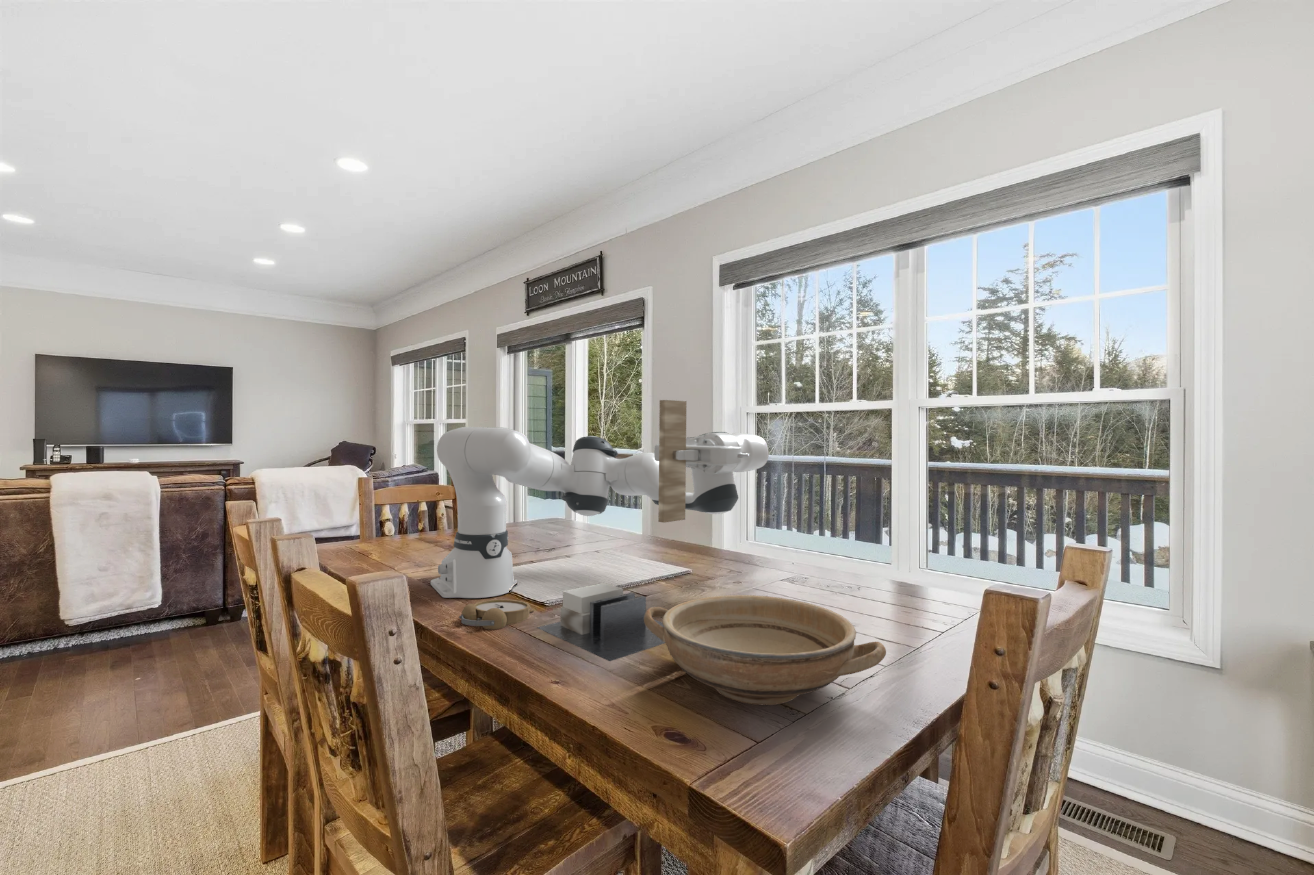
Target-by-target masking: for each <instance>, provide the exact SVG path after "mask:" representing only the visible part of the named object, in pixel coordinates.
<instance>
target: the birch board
mask: <svg viewBox="0 0 1314 875" xmlns="http://www.w3.org/2000/svg"><path fill="white" fill-rule="evenodd" d="M658 414H659V416H658V417H659V420H658V421H659V423H658V424H659V425H658V426H659V427H658V428H659V429H658V431H659V433H658V436H659V438H658V439H659V440H658V444H659V505H658V523H663V524H664V523H665V524H666V523H672V522H679V521H685V520H686V509H685V496H686V492H687V491H686V487H687V486H686V484H687V480H686V478H687V477H686V476H687V475H686V474H687V473H686V472H687V467H686V460H674V459H673V451H683V450H686V438H687V400H673V399H672V400H670V399H669V400H668V399H659V413H658Z"/></svg>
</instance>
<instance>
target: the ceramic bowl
mask: <svg viewBox="0 0 1314 875" xmlns="http://www.w3.org/2000/svg"><path fill="white" fill-rule="evenodd" d="M654 618H658V619H659V618H660V619H662V622H663V625H664V627H665V628H664V627H662V626H661V625H659V624H658V623H657V622H656V621H654V620H655V619H654ZM653 619H654V620H653ZM644 623H645V625H646V626H647V628H648V629H649V630H650V631H651V632H652V633H653V634H654V635H656V636H657V637H658V638H660V639H661V640H662V641H663V642H665V643H664V644H665V645H666V648H667V649H668V652H669V654H670V656H671V658H672V660H673V661H674V662H675V663H676V664H677V666H679V668H680V669H681V670H682V671H683V672H684V673H686V674H688V675H689V677H692V678H693V679H695V680H696V681H699V682H701V683H703V684H705V685H707V686H708V687H712V688H714V689H715V690H716V692H718V693H719V694H720V695H721V696H723V697H724V698H727V699H730V700H732V701H735V702H737V703H738V702H739V703H742V704H748V705H755V706H774V705H776V706H777V705H782V704H786V703H788V702H791V701H793V700H794V699H796V698H797V697H798V696H801V695H805V694H809V693H812V692H816V691H818V690H820V689H823V688H825V687H827V686H828V685H830V684H832V683H834V681H836V680H838V678H840V677H843V676H846V675H847V676H848V675H853V674H857V673H861V672H863V671H867V670H869V669H871V668H874V667H875V666H878V664H880V663H881V662H882V661H883V660H884V659H885V658H886V655H887V650H886V647H885V645H884V644H883V643H881V642H880V641H870V642H866V643H862V644H855V640H856V637H857V631H856V628H855V625H853V623H851V622H850V621H849V619H847V618H846V617H844V616H842V615H841V614H839V613H837V612H835V611H833V610H830V609H828V608H825V607H823V606H820V605H816V604H813V603H809V602H806V601H800V600H795V599H791V598H784V597H777V596H776V597H775V596H768V595H756V594H755V595H752V594H750V595H749V594H728V595H727V594H726V595H713V596H706V597H698V598H695V599H692V600H691V599H690V600H687V601H685V602H681V603H678V604H677V605H675V606H672V607H671V608H669V609H667V608H666V607H665V608H664V607H661V606H651V607H648V609H647V610H646V613H645V615H644Z"/></svg>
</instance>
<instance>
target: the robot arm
mask: <svg viewBox="0 0 1314 875" xmlns="http://www.w3.org/2000/svg"><path fill="white" fill-rule="evenodd" d="M436 446H437V447H436V453H437V458H438V460H439V461H440V463H441V464H442V465H443V466H444V467H445V469H446V470H447V472H448V474H449V476H450V478H451V481H452V484H453V487H454V490H455V495H456V496H455V497H456V503H457V531H456V532H454V535H455V536H454V541H453V548H452V550H451V551H450V552H449V553H448V554H447V555H446V556H445V557H444V558H443V559H442V561H441V564H439V565H438V566H437V572H438V575H440V576H439V577H436V578H434V579H431V580H430V586H432V588H433V589H434V590H435V591H436V592H437V593H438V594H439V595H440V596H441V597H442V598H445V599H446V598H449V599H451V598H462V599H481V598H482V599H483V598H484V599H485V598H490V597H497V596H502V595H504V594H508V593H510V592H509V588H511V586H512V585H513V584H515V583H516V582H518V579H514V567H513V566H514V565H513V555H512V552H511V551H510V550H509V549H508V547H507V546H508V545H509V531H508V529H507V499H506V496H505V495H504V494H503V492H502V491H500V490H499V488H498V487H497V485H496V483H495V481H494V478H493V476H500V477H502V478H505V479H506V481H507V482H509V483H512V484H515V485H519V486H522V487H525V488H526V487H527V488H529V489H533V490H536V491H537V490H538V491H544V492H561V493H563V495H562V496H561V500H562V501H564V502H565V503H566V505H567V506H568V508H569V509H570V510H571V511H572V512H574V513H577V515H578V514H579V515H581V516H583V517H593V516H594V517H595V516H597V515H600V514H603V513H604V512H605V511H606V508H607V505H608V502H609V499H608V496H609V491H610V487H611V489H612V490H613V491H614V492H615V493H617V494H618V495H620V496H629V497H631V496H632V497H638V496H647V497H649V498H650V500H652V502H653V503H654V505H657V506H659V443H657V444H655V445H654V447H653V448H654V450H653V452H641V453H638V454H634V455H630V456H628V457H624V458H616V457H618V455H619V453H618V451H617V450H616V449H614V447H613V446H612V444H611V443H610V442H609V441H607V440H606V439H605V438H602V437H599V436H596V435H595V436H594V435H588V436H583V437H581V436H580V437H579V438H578V439H576V440H575V443H574V444H573V449H572V457H571V463H569V462H568V461H567V460H566V459H565V458H563V457H562V456H560V455H559V454H557V453H555V452H553V451H551V450H549V449H547V448H544V447H541V446H540V445H539V446H538V445H536V444H534V443H531V442H530V441H529V438H528V437H527V435H525V434H524V433H523V432H521V431H519V430H518V431H517V430H515V429H511V428H507V427H498V426H497V427H489V426H487V427H484V426H463V427H462V426H461V427H458V428H454V429H451V430H448V431H446V432H444V433H443V434H442V435H441V437H440V438H439V440H438V442H437V445H436ZM673 459H674V460H686V468H690V470H691V480H692V486H693V492H689V491H688V492H687V491H686V496H685V510H689V511H694V512H695V511H697V512H700V513H705V514H710V515H722V514H725V513H727V512H731V511H732V510H733V509H734V507H735V506H736V503H737V501H739V495H738V490H737V486H736V483H735V476H734V473H745V472H751V471H755V470H759V469H760V468H762V467H764V466H765V465H766V464H767V462H768V460H769V446H768V443H767V441H766V440H765V439H764V438H763V437H762V436H761V435H760V436H759V435H757V434H752V433H747V432H733V433H729V432H726V431H713V432H707V433H703V434H699V435H697V436H693V437H686V450H683V451H673Z"/></svg>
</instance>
